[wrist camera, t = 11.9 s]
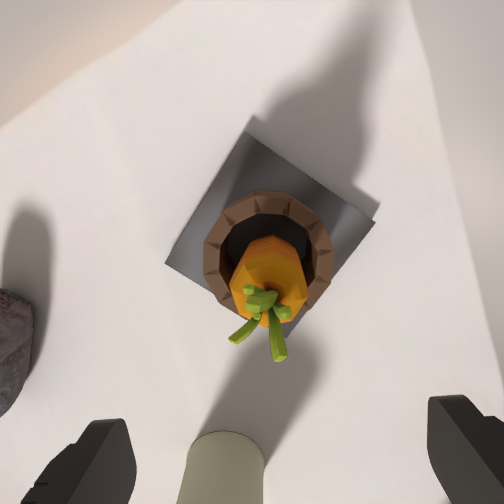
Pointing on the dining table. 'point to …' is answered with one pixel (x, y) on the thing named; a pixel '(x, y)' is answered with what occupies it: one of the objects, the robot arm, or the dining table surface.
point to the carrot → (268, 290)
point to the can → (223, 471)
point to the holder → (267, 224)
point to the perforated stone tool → (13, 346)
